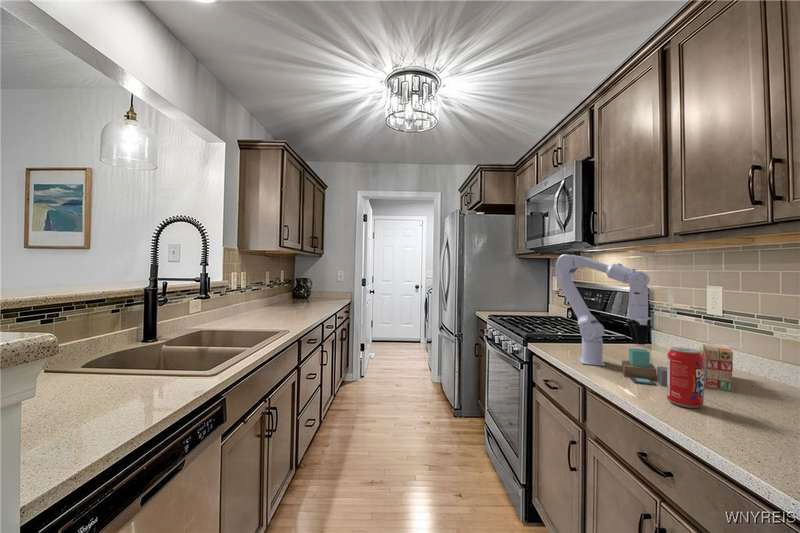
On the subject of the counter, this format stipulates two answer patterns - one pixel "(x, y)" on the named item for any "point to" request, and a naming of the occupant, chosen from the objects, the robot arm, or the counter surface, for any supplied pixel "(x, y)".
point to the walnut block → (638, 371)
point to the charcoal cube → (662, 376)
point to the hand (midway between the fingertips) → (638, 342)
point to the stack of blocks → (717, 366)
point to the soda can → (685, 377)
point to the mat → (643, 381)
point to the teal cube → (639, 357)
